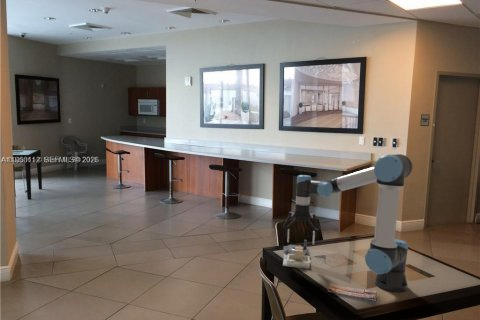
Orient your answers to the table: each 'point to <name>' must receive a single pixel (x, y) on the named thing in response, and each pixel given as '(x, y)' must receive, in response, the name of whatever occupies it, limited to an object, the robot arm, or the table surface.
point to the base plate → (299, 264)
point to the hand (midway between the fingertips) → (300, 242)
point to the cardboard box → (298, 253)
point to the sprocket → (291, 249)
